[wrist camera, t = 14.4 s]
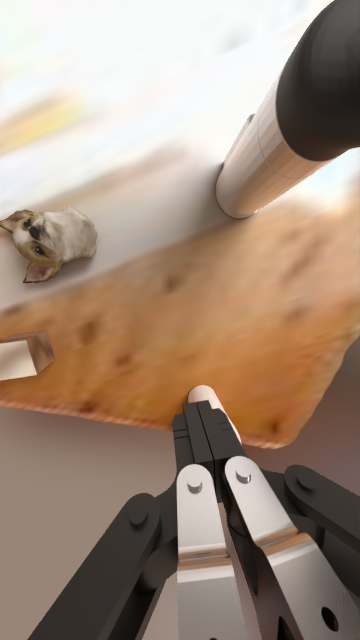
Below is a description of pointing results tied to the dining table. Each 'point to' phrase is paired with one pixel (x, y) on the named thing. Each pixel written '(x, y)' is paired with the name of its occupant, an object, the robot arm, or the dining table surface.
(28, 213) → the ceramic sculpture
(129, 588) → the robot arm
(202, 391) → the mug
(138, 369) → the dining table surface
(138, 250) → the dining table surface
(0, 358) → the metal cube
